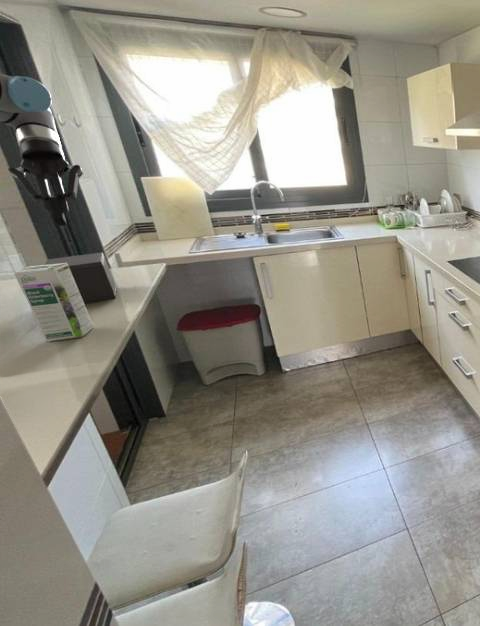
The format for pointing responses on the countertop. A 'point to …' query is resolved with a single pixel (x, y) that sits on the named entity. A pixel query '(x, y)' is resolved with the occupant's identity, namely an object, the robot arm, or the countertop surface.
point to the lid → (79, 260)
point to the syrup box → (55, 301)
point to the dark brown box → (95, 283)
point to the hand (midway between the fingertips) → (60, 221)
